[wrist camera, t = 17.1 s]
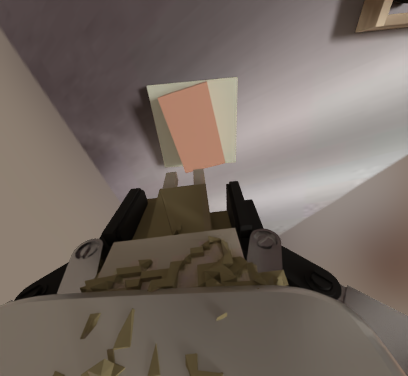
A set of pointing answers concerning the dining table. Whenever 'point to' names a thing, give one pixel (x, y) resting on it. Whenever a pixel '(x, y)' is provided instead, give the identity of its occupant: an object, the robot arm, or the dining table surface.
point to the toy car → (401, 1)
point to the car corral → (380, 17)
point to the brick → (193, 126)
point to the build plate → (223, 110)
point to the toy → (173, 261)
